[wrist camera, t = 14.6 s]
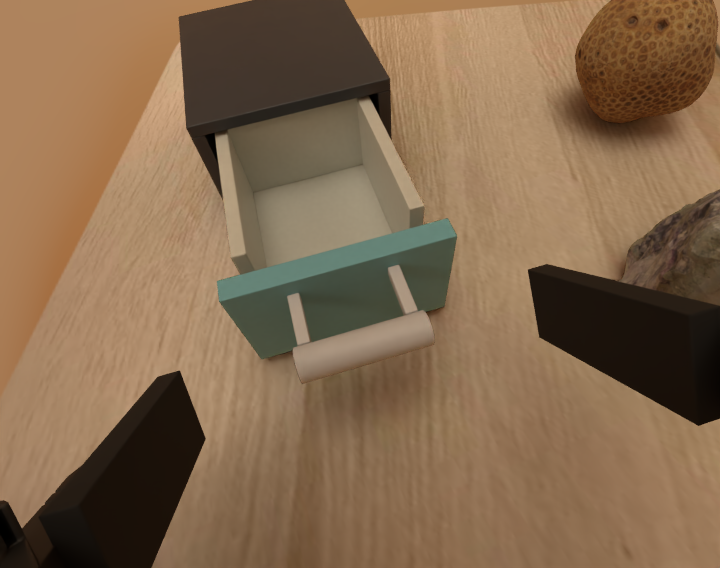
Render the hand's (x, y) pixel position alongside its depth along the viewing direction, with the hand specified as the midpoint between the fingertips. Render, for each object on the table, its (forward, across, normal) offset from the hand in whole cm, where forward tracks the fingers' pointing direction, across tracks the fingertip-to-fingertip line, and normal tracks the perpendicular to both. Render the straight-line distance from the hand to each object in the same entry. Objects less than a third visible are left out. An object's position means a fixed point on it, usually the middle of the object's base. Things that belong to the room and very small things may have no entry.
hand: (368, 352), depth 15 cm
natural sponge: (+20, +26, +6) cm, 33 cm away
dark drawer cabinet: (+24, 0, +11) cm, 26 cm away
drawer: (+13, 0, +1) cm, 13 cm away
